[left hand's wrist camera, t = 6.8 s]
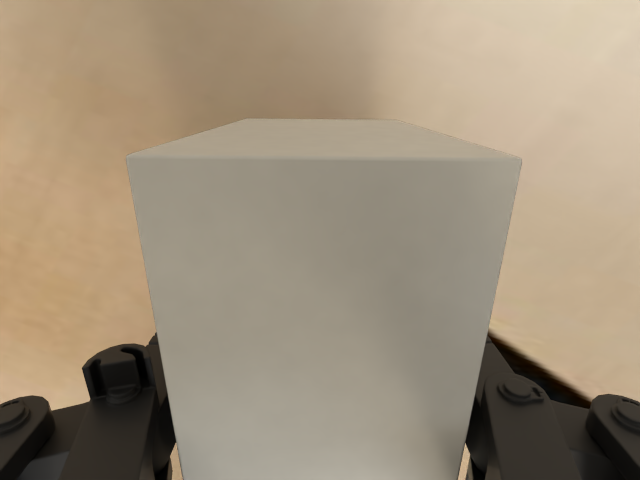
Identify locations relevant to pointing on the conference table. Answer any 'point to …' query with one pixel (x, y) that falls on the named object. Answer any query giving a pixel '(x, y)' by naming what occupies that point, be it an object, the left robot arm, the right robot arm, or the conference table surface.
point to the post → (322, 294)
